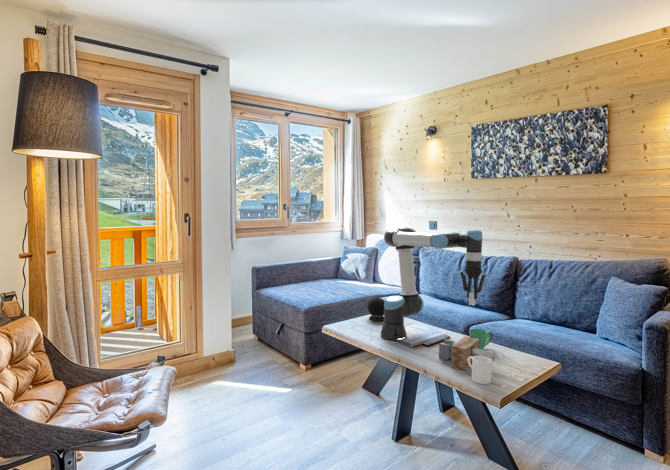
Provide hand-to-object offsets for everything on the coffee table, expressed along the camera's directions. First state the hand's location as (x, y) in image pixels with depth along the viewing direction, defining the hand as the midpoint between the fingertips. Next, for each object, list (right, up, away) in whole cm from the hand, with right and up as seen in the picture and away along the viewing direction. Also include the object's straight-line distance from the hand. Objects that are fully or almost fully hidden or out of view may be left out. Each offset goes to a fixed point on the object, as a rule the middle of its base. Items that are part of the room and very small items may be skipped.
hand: (472, 304), depth 204 cm
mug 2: (-7, -29, -27) cm, 40 cm away
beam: (-7, -27, -9) cm, 30 cm away
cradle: (-14, -27, -3) cm, 30 cm away
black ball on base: (-43, -21, +63) cm, 79 cm away
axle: (-4, -22, -12) cm, 26 cm away
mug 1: (+8, -26, +9) cm, 29 cm away
